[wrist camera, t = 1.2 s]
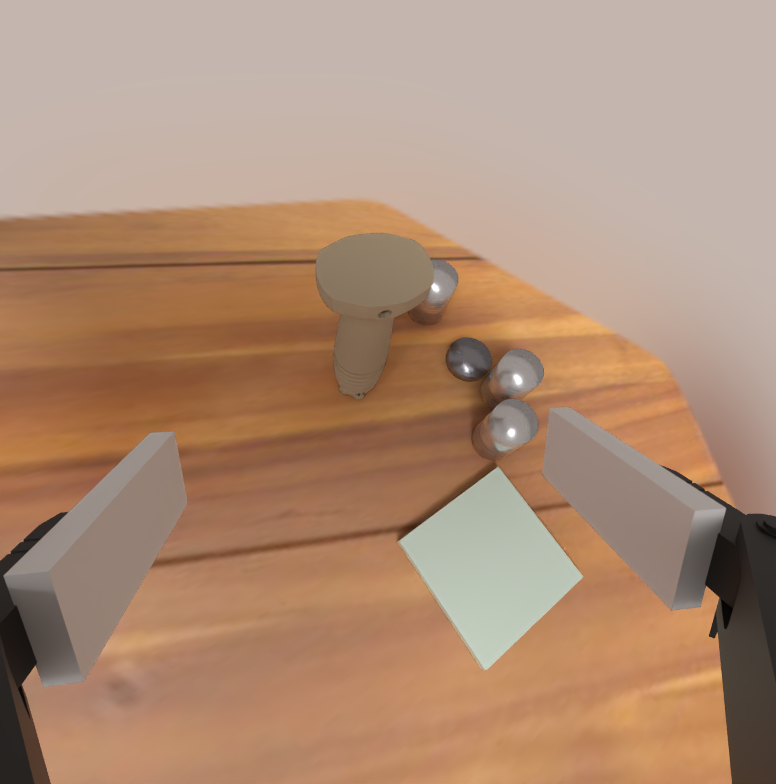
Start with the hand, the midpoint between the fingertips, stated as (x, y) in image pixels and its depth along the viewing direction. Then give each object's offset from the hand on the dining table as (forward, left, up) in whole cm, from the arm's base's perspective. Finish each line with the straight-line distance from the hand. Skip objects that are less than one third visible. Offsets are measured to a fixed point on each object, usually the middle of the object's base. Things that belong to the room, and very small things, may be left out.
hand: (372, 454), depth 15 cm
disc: (-5, +17, -19) cm, 26 cm away
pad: (+9, +7, -19) cm, 22 cm away
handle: (-9, +7, -19) cm, 22 cm away
